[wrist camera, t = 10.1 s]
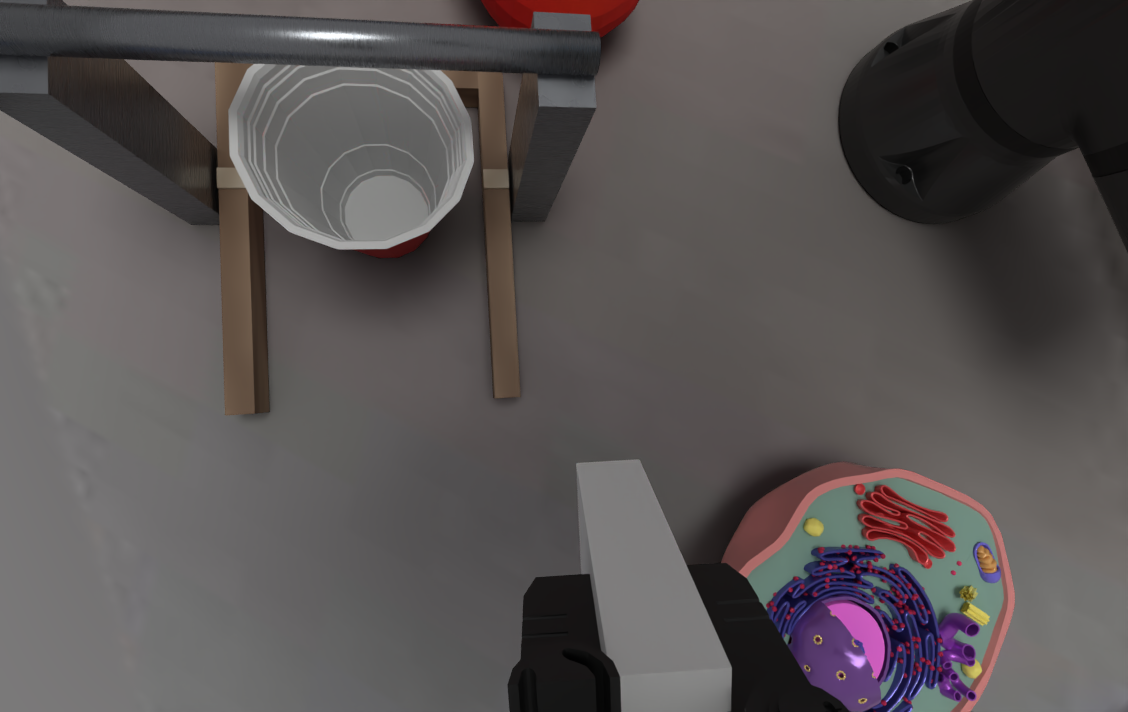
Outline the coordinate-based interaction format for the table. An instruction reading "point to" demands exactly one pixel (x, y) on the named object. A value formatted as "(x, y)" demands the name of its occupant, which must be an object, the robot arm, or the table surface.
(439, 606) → the table surface
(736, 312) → the table surface
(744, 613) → the robot arm
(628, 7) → the tomato
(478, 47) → the grey and wooden frame
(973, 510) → the cell model
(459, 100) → the plastic cup
